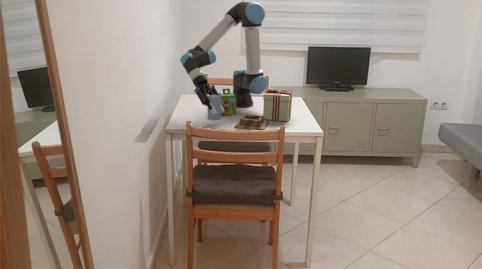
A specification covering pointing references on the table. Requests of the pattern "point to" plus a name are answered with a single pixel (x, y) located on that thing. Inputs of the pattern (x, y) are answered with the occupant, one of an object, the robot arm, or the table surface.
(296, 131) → the table surface
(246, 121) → the cradle
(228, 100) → the chalk box
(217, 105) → the block
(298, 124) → the table surface
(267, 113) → the gift box
